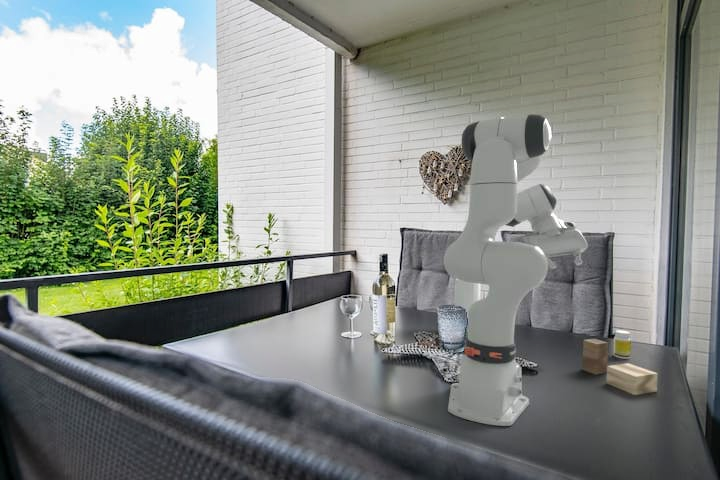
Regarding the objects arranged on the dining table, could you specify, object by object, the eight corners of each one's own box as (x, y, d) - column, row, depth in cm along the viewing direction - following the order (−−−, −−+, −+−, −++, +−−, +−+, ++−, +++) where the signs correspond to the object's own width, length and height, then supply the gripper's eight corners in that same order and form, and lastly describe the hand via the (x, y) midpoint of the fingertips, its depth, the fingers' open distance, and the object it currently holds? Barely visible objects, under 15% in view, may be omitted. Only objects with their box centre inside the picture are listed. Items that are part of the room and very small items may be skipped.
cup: (483, 331, 161) (484, 278, 160) (475, 337, 152) (477, 281, 152) (458, 327, 167) (459, 276, 166) (449, 333, 158) (450, 279, 157)
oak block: (634, 395, 102) (635, 376, 102) (606, 383, 110) (607, 366, 109) (656, 392, 105) (657, 373, 104) (627, 380, 112) (628, 363, 112)
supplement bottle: (632, 359, 130) (633, 334, 129) (616, 358, 130) (617, 333, 130) (626, 355, 134) (627, 330, 134) (610, 353, 135) (611, 329, 135)
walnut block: (595, 374, 116) (597, 344, 115) (582, 369, 120) (583, 339, 120) (606, 372, 117) (608, 342, 117) (593, 367, 122) (594, 338, 121)
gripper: (525, 229, 132) (543, 265, 125) (579, 222, 136) (599, 257, 129) (517, 239, 137) (533, 274, 130) (569, 232, 141) (588, 266, 134)
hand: (566, 265), depth 130 cm, fingers open, 8 cm apart
